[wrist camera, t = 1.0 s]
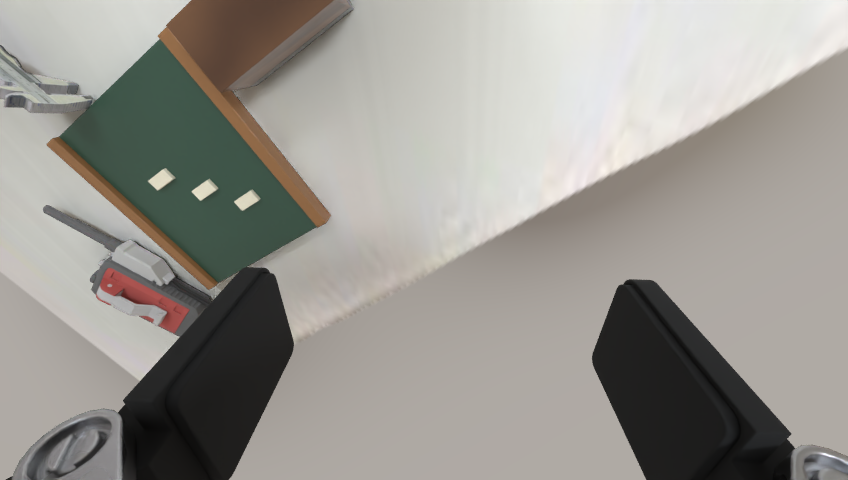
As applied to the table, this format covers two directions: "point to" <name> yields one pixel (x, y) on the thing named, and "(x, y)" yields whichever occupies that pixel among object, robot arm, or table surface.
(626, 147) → the table surface
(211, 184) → the chalk mark
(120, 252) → the toy chainsaw
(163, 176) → the chalk mark
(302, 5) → the eraser
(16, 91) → the caliper
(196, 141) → the chalkboard
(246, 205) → the chalk mark
